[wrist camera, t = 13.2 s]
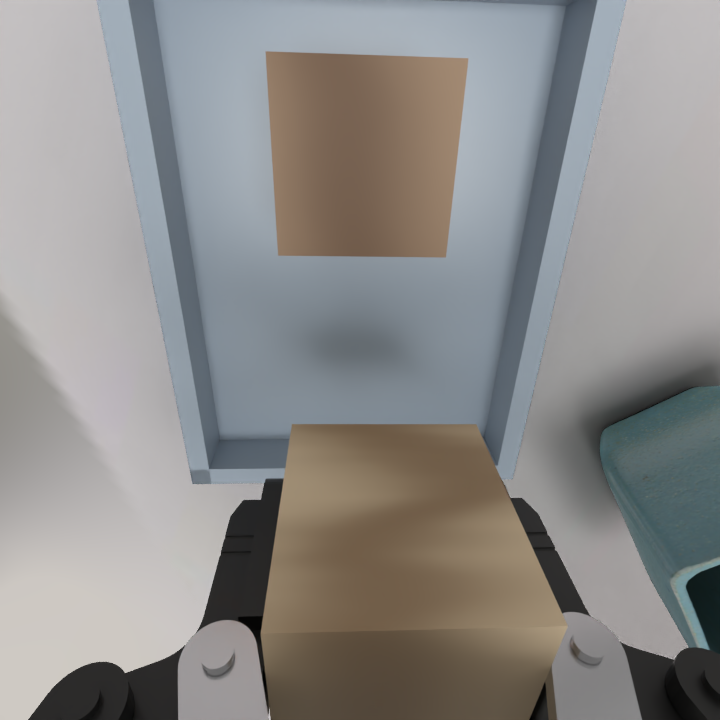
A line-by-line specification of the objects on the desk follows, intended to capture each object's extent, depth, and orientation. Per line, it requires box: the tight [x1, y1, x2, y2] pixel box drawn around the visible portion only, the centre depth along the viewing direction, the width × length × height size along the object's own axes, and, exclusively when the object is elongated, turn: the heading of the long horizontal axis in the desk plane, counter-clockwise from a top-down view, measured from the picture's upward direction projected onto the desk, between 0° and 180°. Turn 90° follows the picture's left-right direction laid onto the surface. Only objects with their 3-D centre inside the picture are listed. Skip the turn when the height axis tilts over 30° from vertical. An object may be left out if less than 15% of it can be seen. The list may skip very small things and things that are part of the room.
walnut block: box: [265, 51, 469, 258], centre depth 13 cm, size 4×4×5 cm
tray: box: [97, 0, 626, 484], centre depth 17 cm, size 18×14×3 cm
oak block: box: [261, 424, 568, 720], centre depth 10 cm, size 4×4×5 cm
